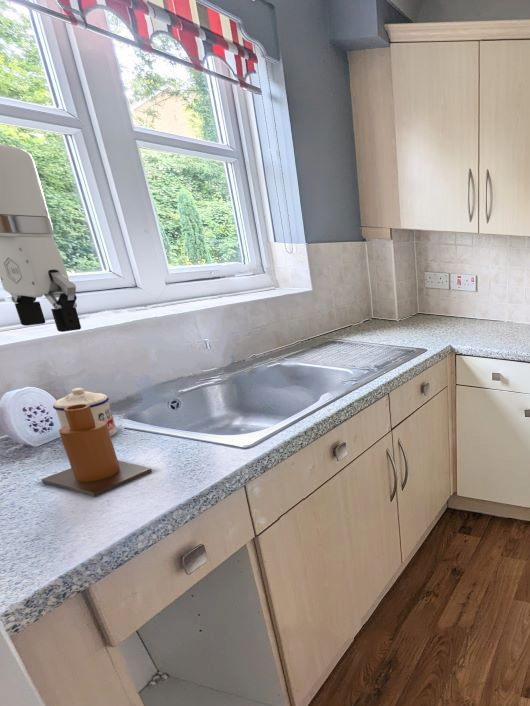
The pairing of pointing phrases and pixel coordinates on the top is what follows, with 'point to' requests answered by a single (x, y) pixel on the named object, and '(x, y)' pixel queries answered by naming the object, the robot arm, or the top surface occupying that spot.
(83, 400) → the teacup with lid
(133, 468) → the board
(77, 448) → the bottle
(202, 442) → the top surface
